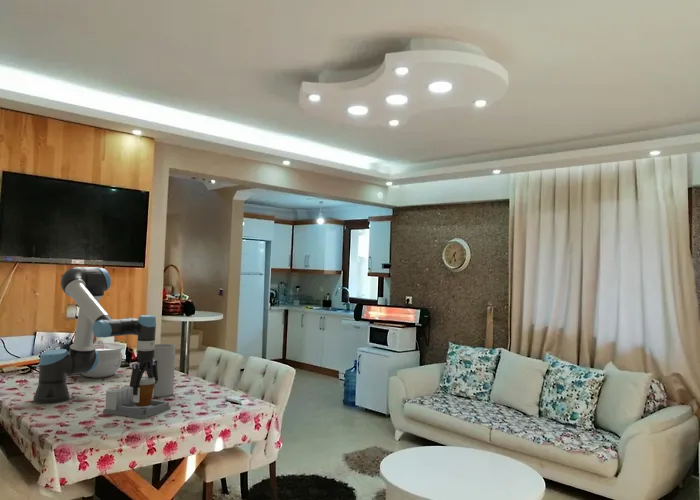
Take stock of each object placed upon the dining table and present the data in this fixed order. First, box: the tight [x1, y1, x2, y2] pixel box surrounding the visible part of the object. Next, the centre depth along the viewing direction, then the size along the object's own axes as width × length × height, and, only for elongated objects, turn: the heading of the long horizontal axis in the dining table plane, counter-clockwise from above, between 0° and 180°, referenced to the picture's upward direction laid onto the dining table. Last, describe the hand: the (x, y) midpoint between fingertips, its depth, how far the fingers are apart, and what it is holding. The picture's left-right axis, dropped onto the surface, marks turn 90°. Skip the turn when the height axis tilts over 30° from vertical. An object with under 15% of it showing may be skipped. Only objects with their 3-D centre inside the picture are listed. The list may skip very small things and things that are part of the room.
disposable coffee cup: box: [136, 376, 155, 407], centre depth 245 cm, size 10×10×12 cm
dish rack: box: [102, 384, 171, 420], centre depth 246 cm, size 22×18×10 cm
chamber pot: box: [82, 340, 126, 379], centre depth 320 cm, size 28×28×21 cm
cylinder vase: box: [153, 343, 176, 398], centre depth 278 cm, size 12×12×25 cm
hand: (143, 399), depth 245 cm, fingers closed on disposable coffee cup, 8 cm apart
